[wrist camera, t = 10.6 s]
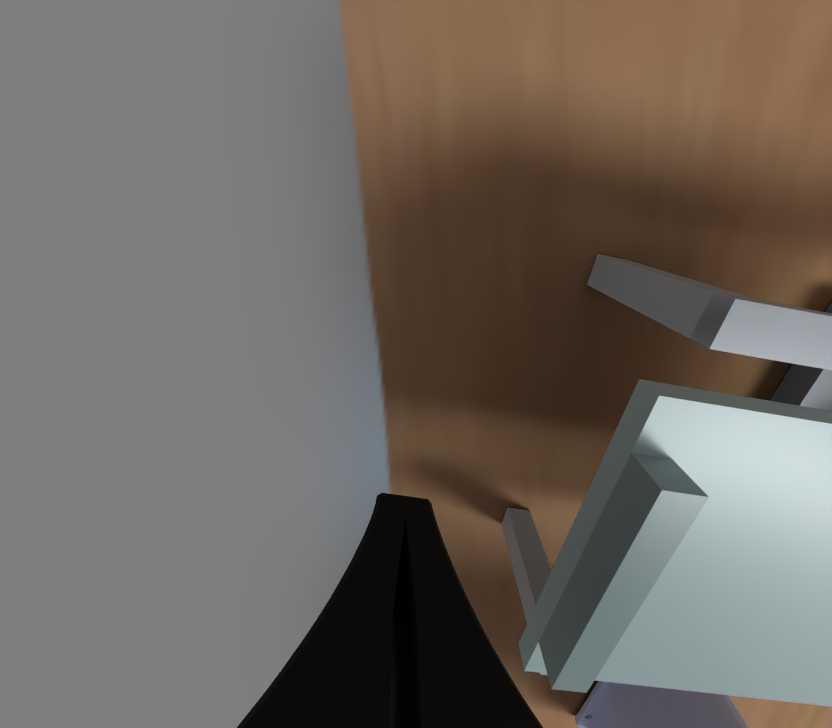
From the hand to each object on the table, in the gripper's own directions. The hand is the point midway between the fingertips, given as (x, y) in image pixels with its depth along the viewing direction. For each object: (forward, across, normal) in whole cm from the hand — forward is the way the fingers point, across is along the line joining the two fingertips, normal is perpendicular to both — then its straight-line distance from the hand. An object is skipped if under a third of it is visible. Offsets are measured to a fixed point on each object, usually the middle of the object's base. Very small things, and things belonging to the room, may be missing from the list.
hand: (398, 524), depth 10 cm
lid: (0, -12, 0) cm, 12 cm away
